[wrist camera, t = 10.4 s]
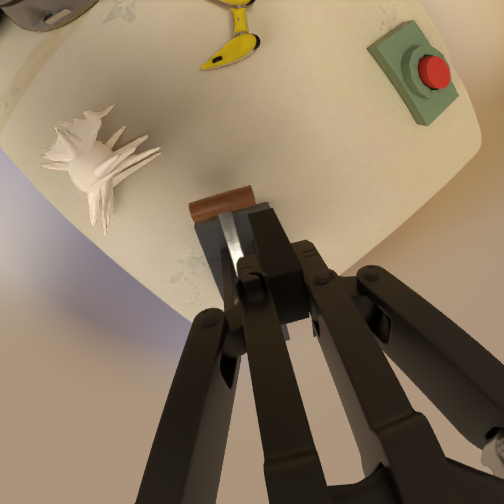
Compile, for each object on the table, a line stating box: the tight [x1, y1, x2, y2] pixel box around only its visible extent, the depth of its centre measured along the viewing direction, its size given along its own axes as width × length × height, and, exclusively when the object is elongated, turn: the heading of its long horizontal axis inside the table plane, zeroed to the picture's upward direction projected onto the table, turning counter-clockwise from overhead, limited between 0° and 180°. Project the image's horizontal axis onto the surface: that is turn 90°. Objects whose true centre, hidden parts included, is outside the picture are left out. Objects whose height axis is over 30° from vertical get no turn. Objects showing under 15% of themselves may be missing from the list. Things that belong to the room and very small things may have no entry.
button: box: [418, 56, 450, 89], centre depth 23 cm, size 4×4×2 cm
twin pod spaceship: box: [200, 0, 260, 70], centre depth 22 cm, size 10×6×4 cm, turn 5°
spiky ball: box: [40, 104, 162, 234], centre depth 25 cm, size 11×12×8 cm
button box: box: [367, 20, 459, 126], centre depth 25 cm, size 12×8×4 cm, turn 44°
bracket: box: [194, 202, 290, 341], centre depth 31 cm, size 12×9×14 cm
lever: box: [189, 185, 256, 277], centre depth 26 cm, size 13×6×2 cm, turn 14°
